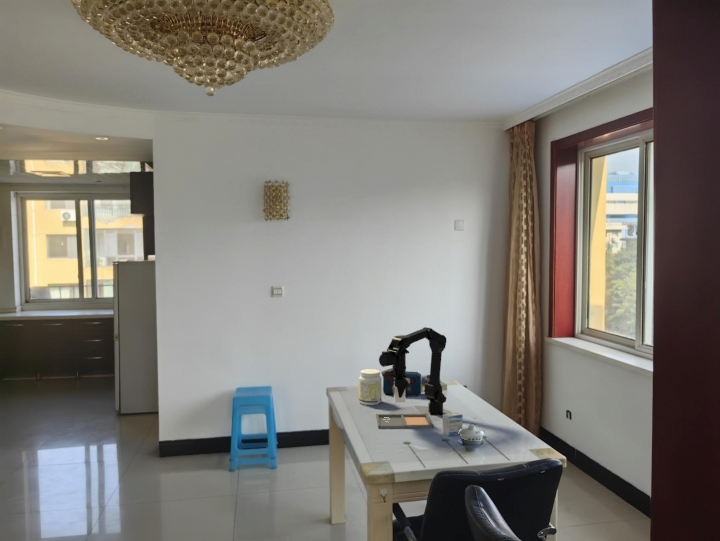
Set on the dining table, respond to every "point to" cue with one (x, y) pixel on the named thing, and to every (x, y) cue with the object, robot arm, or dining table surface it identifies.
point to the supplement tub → (370, 387)
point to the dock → (404, 421)
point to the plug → (396, 395)
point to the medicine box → (452, 423)
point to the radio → (410, 390)
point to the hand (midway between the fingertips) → (399, 396)
